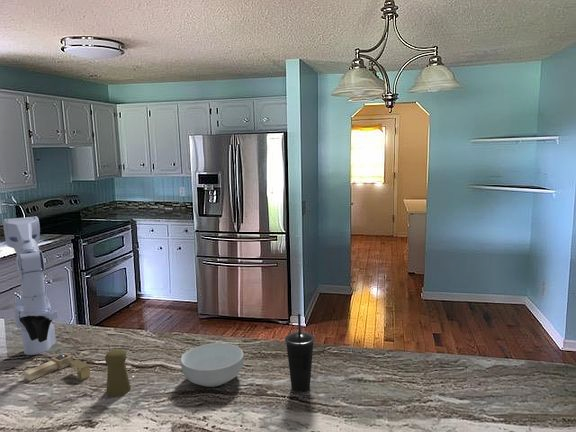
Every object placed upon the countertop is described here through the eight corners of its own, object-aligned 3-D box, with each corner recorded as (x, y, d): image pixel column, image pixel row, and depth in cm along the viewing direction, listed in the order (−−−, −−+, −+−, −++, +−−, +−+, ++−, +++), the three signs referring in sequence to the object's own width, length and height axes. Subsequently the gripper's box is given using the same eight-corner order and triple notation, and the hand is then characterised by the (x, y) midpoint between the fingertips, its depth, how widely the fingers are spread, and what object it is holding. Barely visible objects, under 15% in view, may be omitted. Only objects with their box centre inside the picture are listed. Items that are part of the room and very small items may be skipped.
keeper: (90, 380, 122) (89, 365, 121) (82, 383, 120) (80, 368, 119) (78, 373, 126) (77, 358, 125) (70, 376, 124) (68, 362, 123)
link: (65, 360, 132) (64, 352, 132) (73, 363, 130) (72, 355, 129) (23, 377, 122) (22, 369, 122) (31, 381, 120) (30, 373, 119)
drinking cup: (318, 382, 118) (317, 310, 115) (310, 397, 111) (309, 321, 108) (291, 378, 120) (289, 307, 118) (282, 392, 113) (280, 318, 110)
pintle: (61, 366, 130) (60, 354, 130) (67, 366, 130) (66, 354, 130) (58, 369, 128) (56, 356, 128) (64, 369, 128) (62, 356, 128)
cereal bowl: (255, 371, 125) (254, 347, 124) (223, 401, 110) (221, 375, 109) (205, 360, 132) (204, 338, 131) (169, 388, 117) (167, 363, 116)
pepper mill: (122, 397, 113) (119, 357, 111) (101, 395, 114) (97, 355, 112) (135, 385, 119) (132, 346, 117) (115, 383, 120) (111, 345, 118)
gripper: (3, 296, 124) (8, 341, 126) (39, 301, 118) (44, 349, 120) (26, 288, 130) (31, 332, 132) (61, 293, 125) (66, 339, 127)
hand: (39, 339), depth 127 cm, fingers open, 3 cm apart
